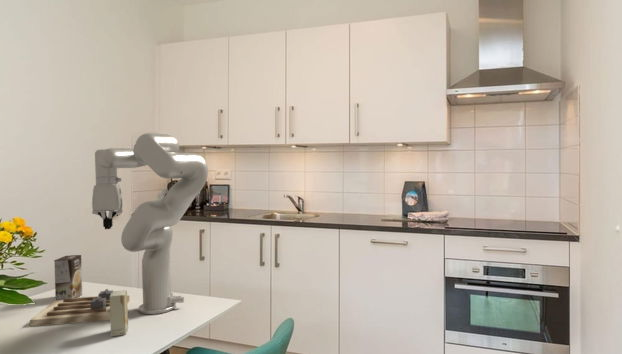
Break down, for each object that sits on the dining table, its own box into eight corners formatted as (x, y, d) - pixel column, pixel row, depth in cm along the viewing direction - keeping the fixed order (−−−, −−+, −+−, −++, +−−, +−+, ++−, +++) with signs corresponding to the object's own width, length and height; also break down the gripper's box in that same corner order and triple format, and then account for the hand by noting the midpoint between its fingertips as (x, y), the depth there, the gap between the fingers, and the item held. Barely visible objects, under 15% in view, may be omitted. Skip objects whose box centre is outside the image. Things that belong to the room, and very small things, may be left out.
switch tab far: (113, 298, 159) (112, 288, 159) (110, 301, 155) (110, 291, 155) (101, 299, 158) (101, 289, 158) (98, 302, 155) (98, 292, 155)
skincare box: (126, 335, 130) (124, 295, 130) (110, 337, 129) (109, 296, 128) (128, 327, 136) (127, 289, 136) (113, 329, 135) (112, 290, 135)
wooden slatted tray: (129, 300, 163) (129, 292, 163) (115, 319, 143) (115, 310, 143) (54, 306, 158) (54, 298, 158) (30, 326, 139) (29, 317, 138)
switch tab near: (106, 306, 150) (105, 296, 150) (103, 309, 147) (102, 299, 146) (93, 307, 149) (93, 296, 149) (90, 310, 146) (90, 300, 146)
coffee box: (72, 301, 163) (71, 259, 163) (55, 302, 163) (53, 260, 162) (82, 294, 172) (81, 254, 172) (66, 295, 172) (64, 255, 171)
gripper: (129, 180, 171) (130, 226, 171) (88, 181, 168) (90, 228, 168) (125, 181, 163) (126, 229, 164) (82, 182, 160) (84, 231, 161)
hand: (108, 228), depth 166 cm, fingers closed
